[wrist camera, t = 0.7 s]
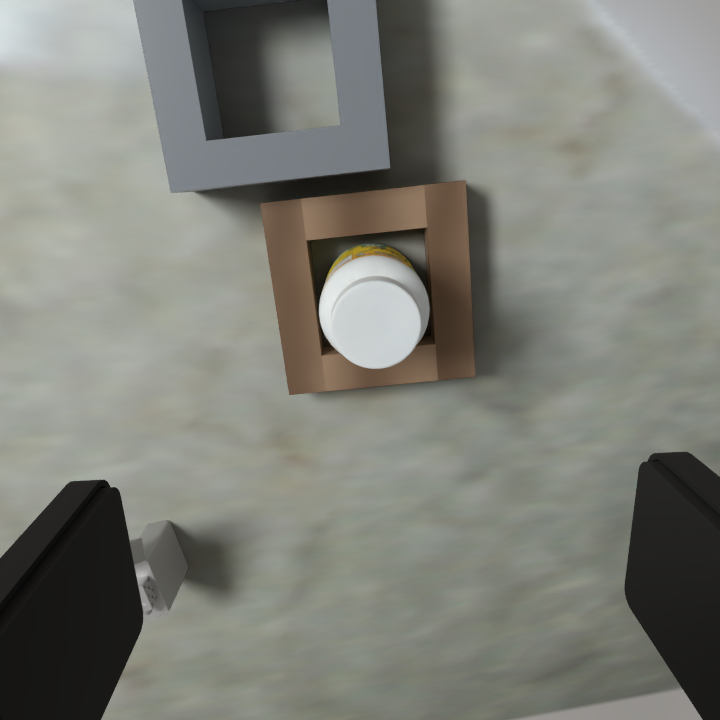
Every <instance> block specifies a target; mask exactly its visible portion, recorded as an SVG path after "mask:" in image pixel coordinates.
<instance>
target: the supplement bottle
mask: <svg viewBox="0 0 720 720" xmlns="http://www.w3.org/2000/svg"><path fill="white" fill-rule="evenodd" d="M429 311H430V307H429V299H428V295H427V292H426V289H425V287H424V285H423V283H422V281H421V280H420V278H419V277H418V275H417V273H416V272H415V270H414V269H413V267H412V265H411V264H410V262H409V261H408V260H407V259H406V257H404V256H403V255H402V254H401V253H400V252H399V251H397V250H396V249H394V248H392V247H390V246H387V245H383V244H375V243H367V244H360V245H356V246H354V247H351V248H349V249H348V250H346V251H345V252H343V253H342V254H341V255H340V256H339V257H338V258H337V259H336V260H335V262H334V263H333V265H332V267H331V269H330V271H329V273H328V276H327V278H326V282H325V285H324V288H323V290H322V294H321V297H320V303H319V317H320V323H321V327H322V329H323V332H324V334H325V336H326V338H327V339H328V341H329V342H330V344H331V345H332V346H333V347H334V348H335V349H336V350H337V351H338V352H339V353H341V354H342V355H343V356H344V357H345V358H347V359H348V360H349V361H351V362H352V363H354V364H356V365H358V366H361V367H364V368H370V369H382V368H387V367H391V366H393V365H396V364H397V363H399V362H401V361H402V360H404V359H405V358H406V357H407V356H408V355H409V354H410V353H411V352H412V351H413V350H414V348H415V346H416V345H417V344H418V343H419V341H420V340H421V338H422V337H423V335H424V333H425V330H426V328H427V325H428V320H429Z"/></svg>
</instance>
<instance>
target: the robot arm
mask: <svg viewBox="0 0 720 720" xmlns="http://www.w3.org/2000/svg"><path fill="white" fill-rule="evenodd" d="M625 595H626V599H627V602H628V605H629V607H630V609H631V610H632V612H633V613H634V615H635V616H636V618H637V620H638V621H639V623H640V624H641V626H642V627H643V629H644V630H645V632H646V633H647V635H648V636H649V638H650V639H651V641H652V643H653V644H654V646H655V647H656V649H657V650H658V652H659V653H660V655H661V656H662V658H663V659H664V661H665V662H666V664H667V666H668V667H669V669H670V670H671V672H672V673H673V675H674V676H675V678H676V679H677V681H678V682H679V684H680V685H681V687H682V689H683V690H684V692H685V693H686V694H687V696H688V698H689V699H690V701H691V702H692V704H693V705H694V707H695V708H696V710H697V711H698V713H699V714H700V716H701V718H702V719H703V720H720V477H719V476H718V475H717V474H715V473H714V472H713V471H712V470H710V469H709V468H708V467H707V466H706V465H704V464H703V463H702V462H701V461H699V460H698V459H697V458H696V457H694V456H693V455H692V454H690V453H688V452H671V453H654V454H652V455H651V456H650V457H649V459H648V462H643V463H641V465H640V467H639V473H638V481H637V489H636V497H635V505H634V513H633V521H632V530H631V538H630V546H629V554H628V562H627V570H626V578H625ZM142 624H143V607H142V602H141V597H140V592H139V587H138V582H137V577H136V571H135V566H134V561H133V556H132V551H131V546H130V541H129V536H128V531H127V526H126V521H125V516H124V510H123V505H122V500H121V496H120V492H119V490H118V489H117V488H116V487H112V488H110V485H109V484H108V482H107V481H105V480H89V481H72V482H70V483H68V484H67V485H66V486H65V487H64V488H63V489H62V491H61V492H60V493H59V494H58V495H57V496H56V497H55V498H54V499H53V501H52V502H51V503H50V504H49V505H48V506H47V507H46V508H45V509H44V510H43V512H42V513H41V514H40V515H39V516H38V517H37V518H36V519H35V520H34V522H33V523H32V524H31V525H30V526H29V527H28V528H27V529H26V530H25V531H24V533H23V534H22V535H21V536H20V537H19V538H18V539H17V540H16V541H15V543H14V544H13V545H12V546H11V547H10V548H9V549H8V550H7V551H6V552H5V554H4V555H3V556H2V557H1V558H0V720H101V718H102V716H103V714H104V712H105V709H106V707H107V705H108V703H109V701H110V698H111V696H112V694H113V692H114V690H115V687H116V685H117V683H118V681H119V678H120V676H121V674H122V672H123V670H124V667H125V665H126V663H127V661H128V659H129V656H130V654H131V652H132V650H133V647H134V645H135V643H136V641H137V639H138V636H139V634H140V632H141V629H142Z"/></svg>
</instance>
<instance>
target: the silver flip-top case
mask: <svg viewBox="0 0 720 720" xmlns="http://www.w3.org/2000/svg"><path fill="white" fill-rule="evenodd" d="M130 546H131V551H132V556H133V561H134V566H135V571H136V577H137V582H138V587H139V592H140V597H141V602H142V607H143V617H144V618H146V619H148V618H153V617H157V616H162V615H167V614H168V612H169V610H170V608H171V606H172V604H173V601H174V599H175V597H176V595H177V593H178V590H179V588H180V586H181V584H182V582H183V579H184V577H185V575H186V573H187V571H188V568H189V567H188V564H187V562H186V559H185V557H184V554H183V552H182V549H181V547H180V544H179V542H178V539H177V537H176V534H175V532H174V529H173V527H172V524H171V522H170V521H168V520H165V521H161V522H156V523H152V524H148V525H147V527H146V528H145V530H144V531H143V533H142V534H141V536H140V538H139V539H134V540H130Z"/></svg>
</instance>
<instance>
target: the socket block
mask: <svg viewBox="0 0 720 720" xmlns="http://www.w3.org/2000/svg"><path fill="white" fill-rule="evenodd" d="M133 1H134V7H135V12H136V17H137V22H138V27H139V32H140V37H141V42H142V47H143V53H144V58H145V63H146V68H147V73H148V78H149V83H150V88H151V93H152V99H153V104H154V109H155V114H156V119H157V124H158V129H159V134H160V139H161V145H162V150H163V155H164V160H165V165H166V170H167V175H168V180H169V185H170V191H171V193H178V192H197V191H206V190H215V189H224V188H233V187H241V186H250V185H259V184H268V183H277V182H286V181H295V180H304V179H312V178H321V177H330V176H339V175H348V174H357V173H366V172H375V171H384V170H388V169H390V159H389V148H388V136H387V125H386V113H385V101H384V90H383V78H382V67H381V55H380V44H379V32H378V21H377V9H376V0H327V4H328V13H329V22H330V31H331V40H332V50H333V59H334V68H335V77H336V87H337V96H338V105H339V114H340V123H341V125H340V126H331V127H322V128H314V129H305V130H297V131H288V132H279V133H271V134H262V135H253V136H245V137H236V138H228V139H224V136H223V130H222V124H221V118H220V112H219V105H218V99H217V93H216V87H215V81H214V75H213V69H212V63H211V57H210V51H209V45H208V39H207V33H206V27H205V21H204V15H203V12H206V11H214V10H222V9H230V8H238V7H246V6H254V5H262V4H270V3H278V2H286V1H294V0H133Z"/></svg>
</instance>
